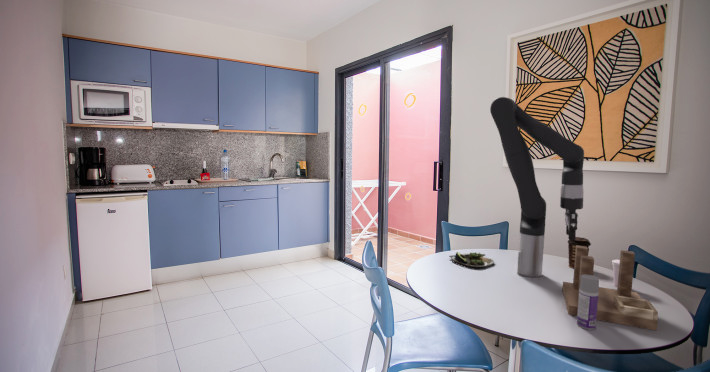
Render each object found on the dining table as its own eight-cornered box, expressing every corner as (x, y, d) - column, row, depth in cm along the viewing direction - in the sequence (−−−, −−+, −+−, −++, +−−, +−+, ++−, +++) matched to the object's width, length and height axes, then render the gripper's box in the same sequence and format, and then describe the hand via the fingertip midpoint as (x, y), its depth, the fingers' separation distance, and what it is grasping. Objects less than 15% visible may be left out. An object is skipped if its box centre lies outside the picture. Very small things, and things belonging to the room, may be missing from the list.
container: (592, 323, 105) (596, 275, 104) (597, 331, 101) (602, 281, 99) (574, 320, 107) (578, 273, 105) (579, 328, 103) (582, 278, 101)
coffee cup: (588, 266, 156) (591, 238, 154) (589, 272, 149) (591, 242, 148) (566, 263, 161) (568, 235, 159) (565, 268, 154) (567, 239, 152)
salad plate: (470, 253, 175) (470, 244, 175) (503, 263, 161) (503, 253, 160) (444, 260, 164) (444, 251, 164) (477, 272, 150) (477, 261, 149)
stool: (568, 314, 111) (572, 259, 109) (562, 289, 131) (565, 242, 129) (656, 330, 101) (662, 270, 99) (635, 300, 121) (640, 250, 119)
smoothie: (634, 290, 130) (638, 254, 128) (615, 289, 131) (618, 252, 129) (624, 284, 136) (628, 249, 134) (606, 282, 137) (609, 248, 136)
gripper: (558, 193, 143) (558, 232, 145) (562, 198, 130) (561, 240, 132) (580, 194, 140) (579, 233, 141) (586, 198, 127) (584, 242, 129)
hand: (570, 237), depth 137 cm, fingers open, 8 cm apart
